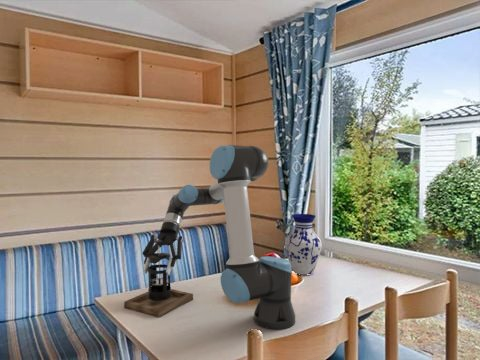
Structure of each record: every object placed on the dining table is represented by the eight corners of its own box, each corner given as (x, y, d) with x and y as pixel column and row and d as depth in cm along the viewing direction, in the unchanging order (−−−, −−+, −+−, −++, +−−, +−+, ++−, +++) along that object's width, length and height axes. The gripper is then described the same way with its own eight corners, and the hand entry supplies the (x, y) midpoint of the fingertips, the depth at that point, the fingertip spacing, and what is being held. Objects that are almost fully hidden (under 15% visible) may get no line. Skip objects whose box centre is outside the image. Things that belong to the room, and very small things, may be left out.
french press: (176, 297, 156) (175, 241, 155) (155, 303, 150) (154, 244, 149) (162, 289, 165) (161, 236, 164) (141, 294, 159) (140, 239, 158)
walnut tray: (193, 299, 162) (193, 293, 162) (159, 317, 144) (159, 310, 144) (159, 292, 171) (159, 286, 171) (124, 307, 153) (124, 301, 153)
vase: (321, 279, 191) (322, 219, 189) (282, 276, 195) (283, 217, 193) (321, 268, 210) (322, 213, 208) (285, 266, 213) (286, 212, 212)
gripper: (196, 232, 169) (184, 279, 154) (150, 229, 173) (134, 275, 159) (192, 221, 164) (179, 269, 149) (145, 219, 168) (127, 266, 153)
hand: (156, 272), depth 154 cm, fingers closed on french press, 9 cm apart
